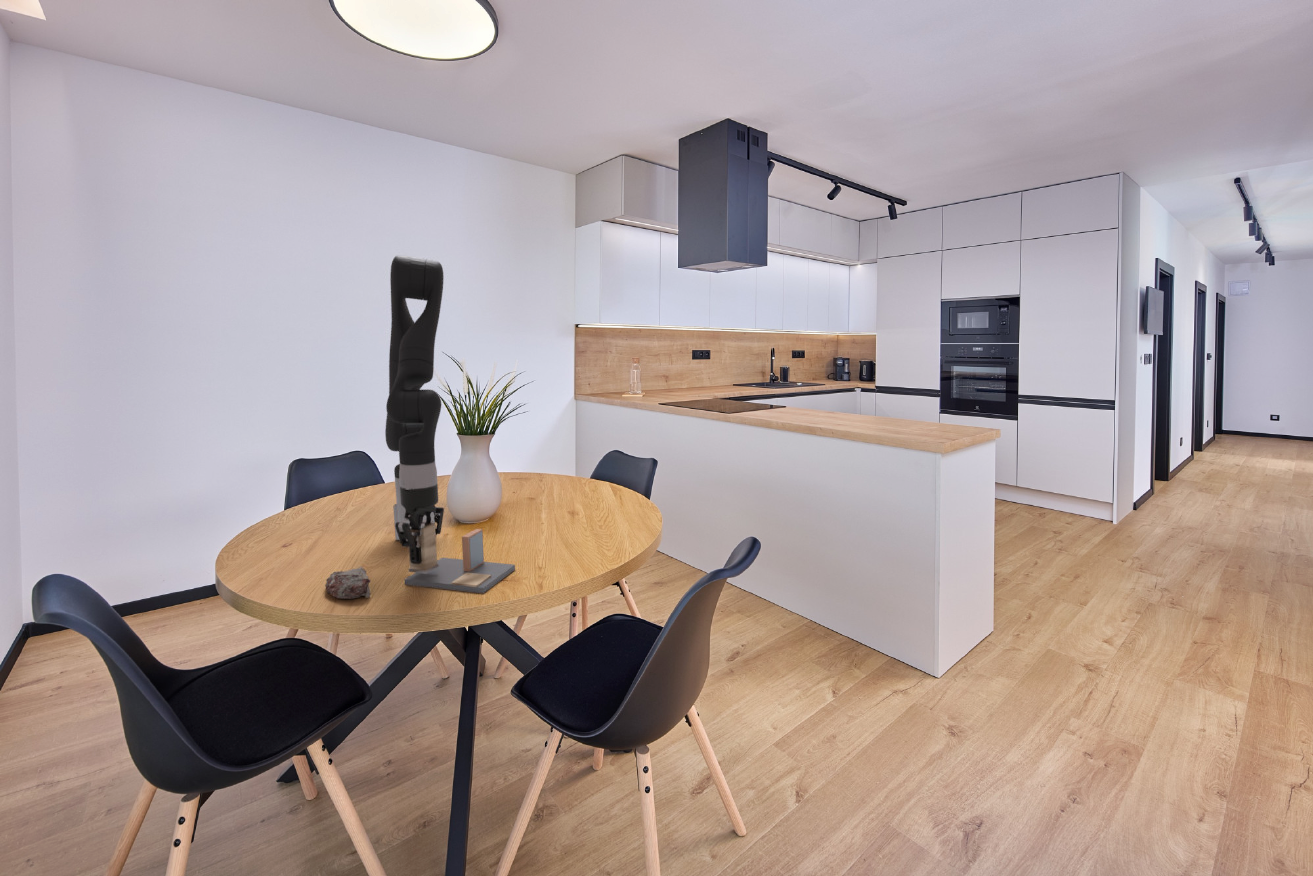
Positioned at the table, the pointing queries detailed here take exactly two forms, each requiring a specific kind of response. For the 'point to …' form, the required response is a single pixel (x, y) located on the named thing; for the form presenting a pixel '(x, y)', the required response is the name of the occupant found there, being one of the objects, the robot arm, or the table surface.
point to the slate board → (459, 575)
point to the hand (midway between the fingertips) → (423, 559)
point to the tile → (472, 550)
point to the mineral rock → (349, 584)
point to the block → (426, 551)
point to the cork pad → (471, 579)
